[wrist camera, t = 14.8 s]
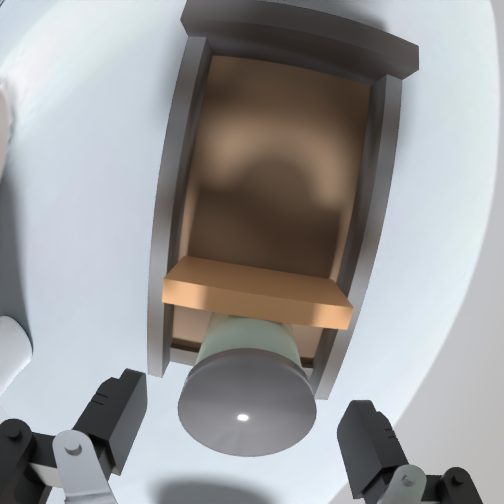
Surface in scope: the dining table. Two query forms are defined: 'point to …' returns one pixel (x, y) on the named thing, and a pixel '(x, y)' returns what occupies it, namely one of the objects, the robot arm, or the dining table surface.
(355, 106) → the grey wooden tray
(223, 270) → the plate
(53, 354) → the dining table surface
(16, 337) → the drinking glass
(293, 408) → the jar
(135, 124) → the dining table surface
